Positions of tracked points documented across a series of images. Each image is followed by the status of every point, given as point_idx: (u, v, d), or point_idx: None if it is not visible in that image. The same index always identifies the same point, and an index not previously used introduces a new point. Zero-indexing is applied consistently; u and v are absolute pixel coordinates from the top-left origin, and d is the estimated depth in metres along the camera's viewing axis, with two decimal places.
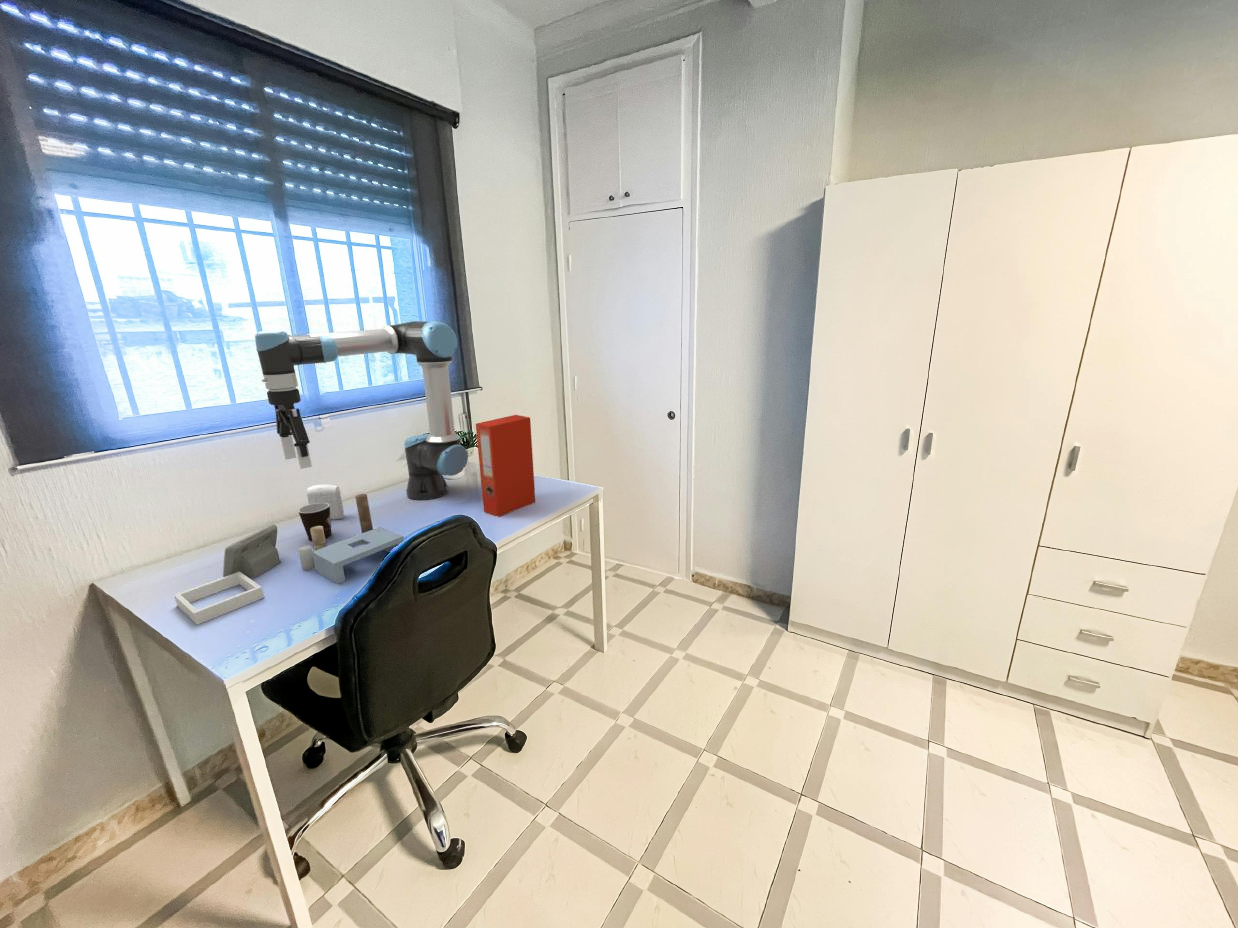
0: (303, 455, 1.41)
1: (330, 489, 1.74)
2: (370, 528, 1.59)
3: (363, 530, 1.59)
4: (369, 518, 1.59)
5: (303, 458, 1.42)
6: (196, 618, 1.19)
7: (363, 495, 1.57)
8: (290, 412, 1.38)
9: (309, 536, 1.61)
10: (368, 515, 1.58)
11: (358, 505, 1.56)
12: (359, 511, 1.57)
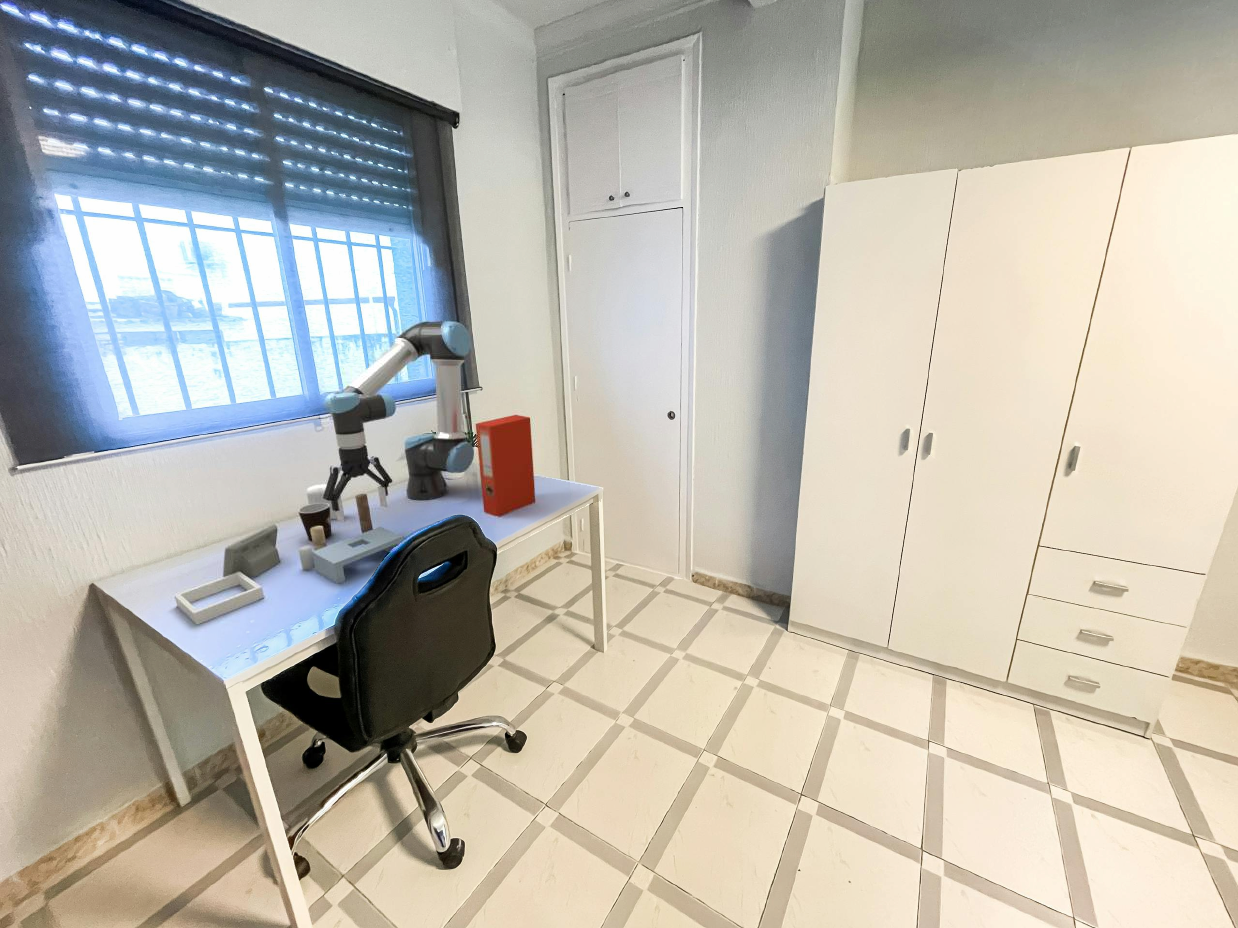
0: (333, 509, 1.51)
1: None
2: (370, 528, 1.59)
3: (363, 530, 1.59)
4: (369, 518, 1.59)
5: (337, 511, 1.52)
6: (196, 618, 1.19)
7: (363, 495, 1.57)
8: (330, 468, 1.49)
9: (309, 536, 1.61)
10: (368, 515, 1.58)
11: (358, 505, 1.56)
12: (359, 511, 1.57)
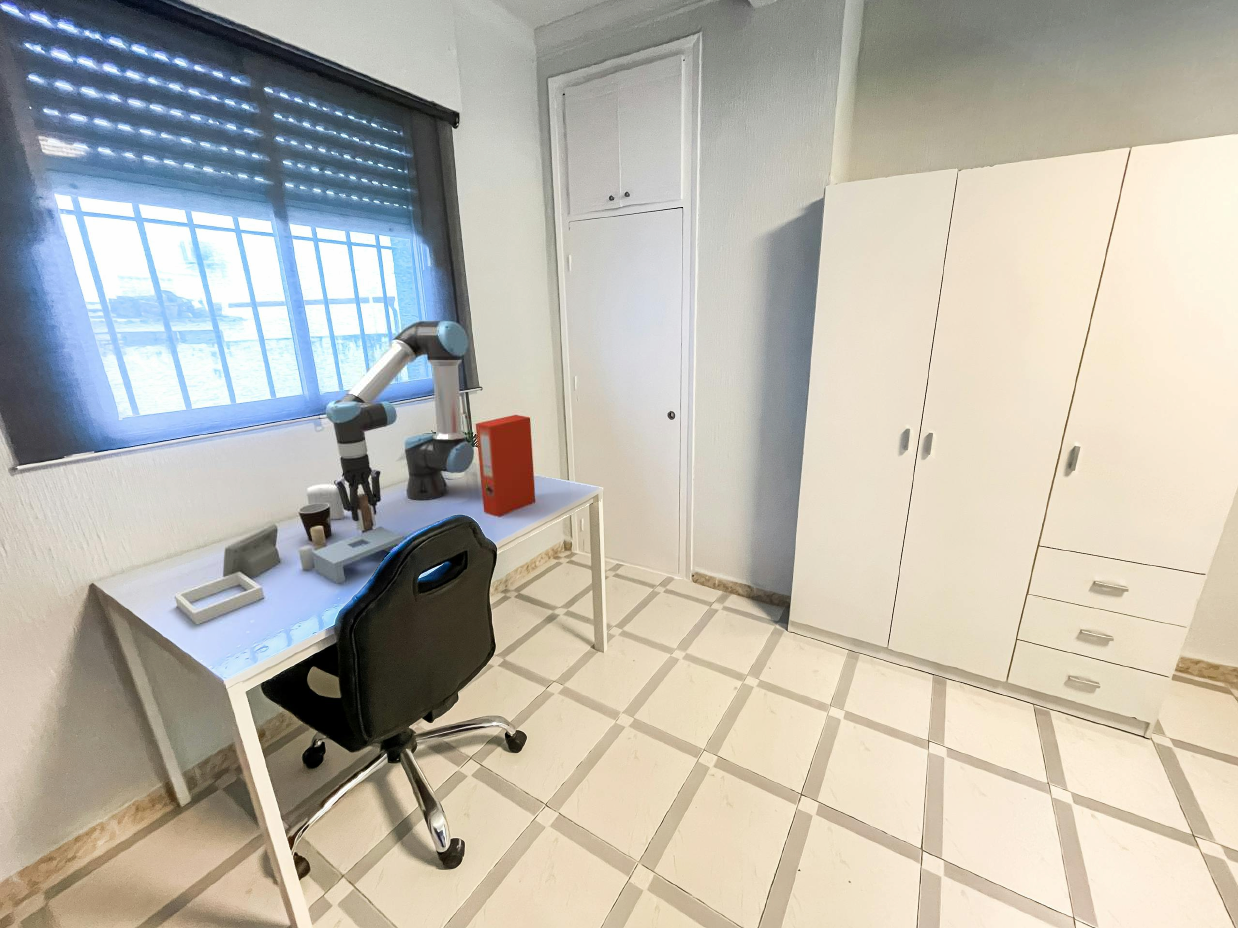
0: (353, 519, 1.56)
1: (330, 489, 1.74)
2: (370, 528, 1.59)
3: (363, 530, 1.59)
4: (369, 518, 1.59)
5: (357, 521, 1.57)
6: (196, 618, 1.19)
7: (363, 495, 1.57)
8: (335, 483, 1.51)
9: (309, 536, 1.61)
10: (368, 515, 1.58)
11: (358, 505, 1.56)
12: None
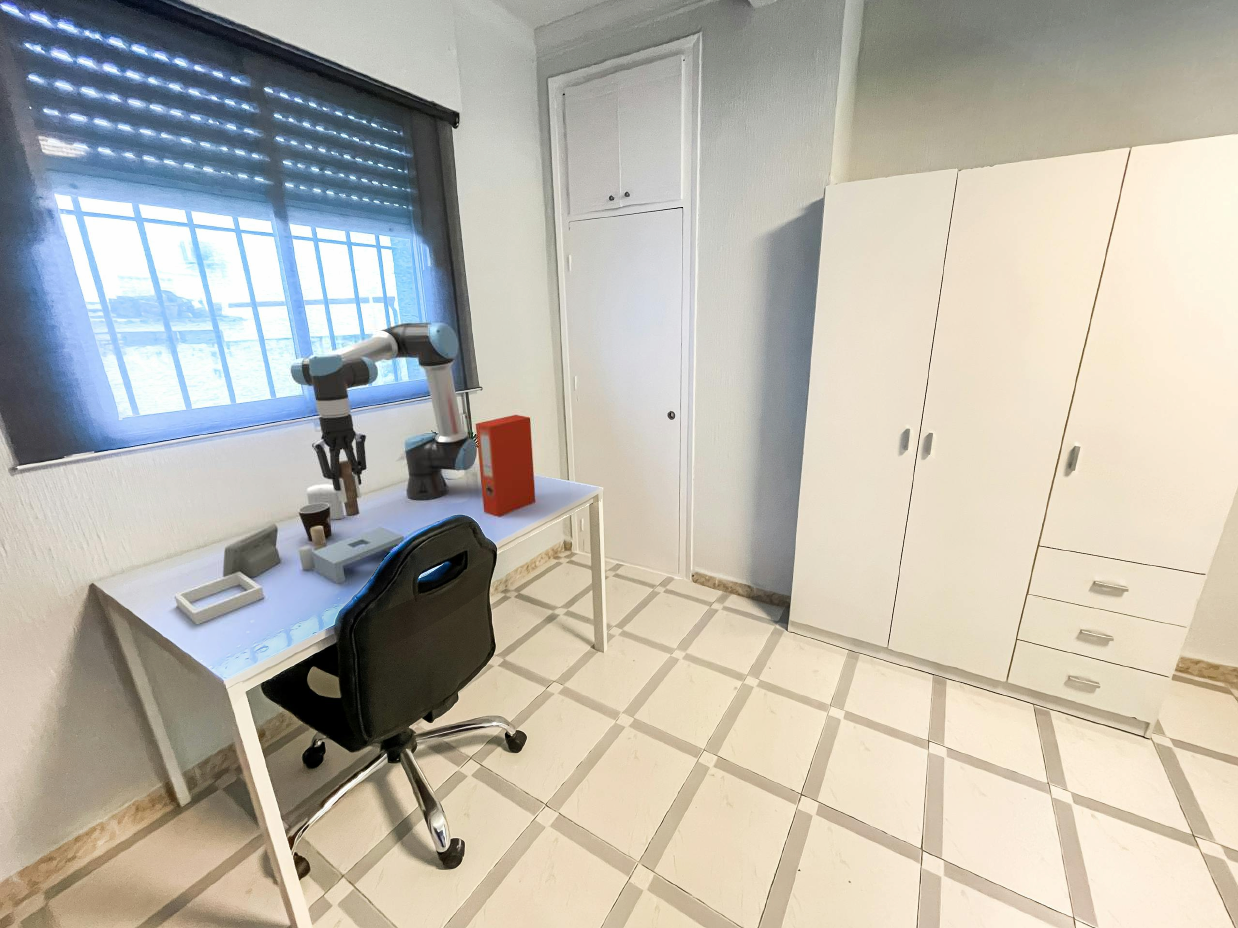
0: (334, 488, 1.38)
1: (330, 489, 1.74)
2: (354, 499, 1.41)
3: (346, 502, 1.40)
4: (353, 488, 1.40)
5: (339, 491, 1.39)
6: (196, 618, 1.19)
7: (346, 461, 1.38)
8: (313, 447, 1.32)
9: (309, 536, 1.61)
10: (351, 484, 1.40)
11: (340, 473, 1.38)
12: None
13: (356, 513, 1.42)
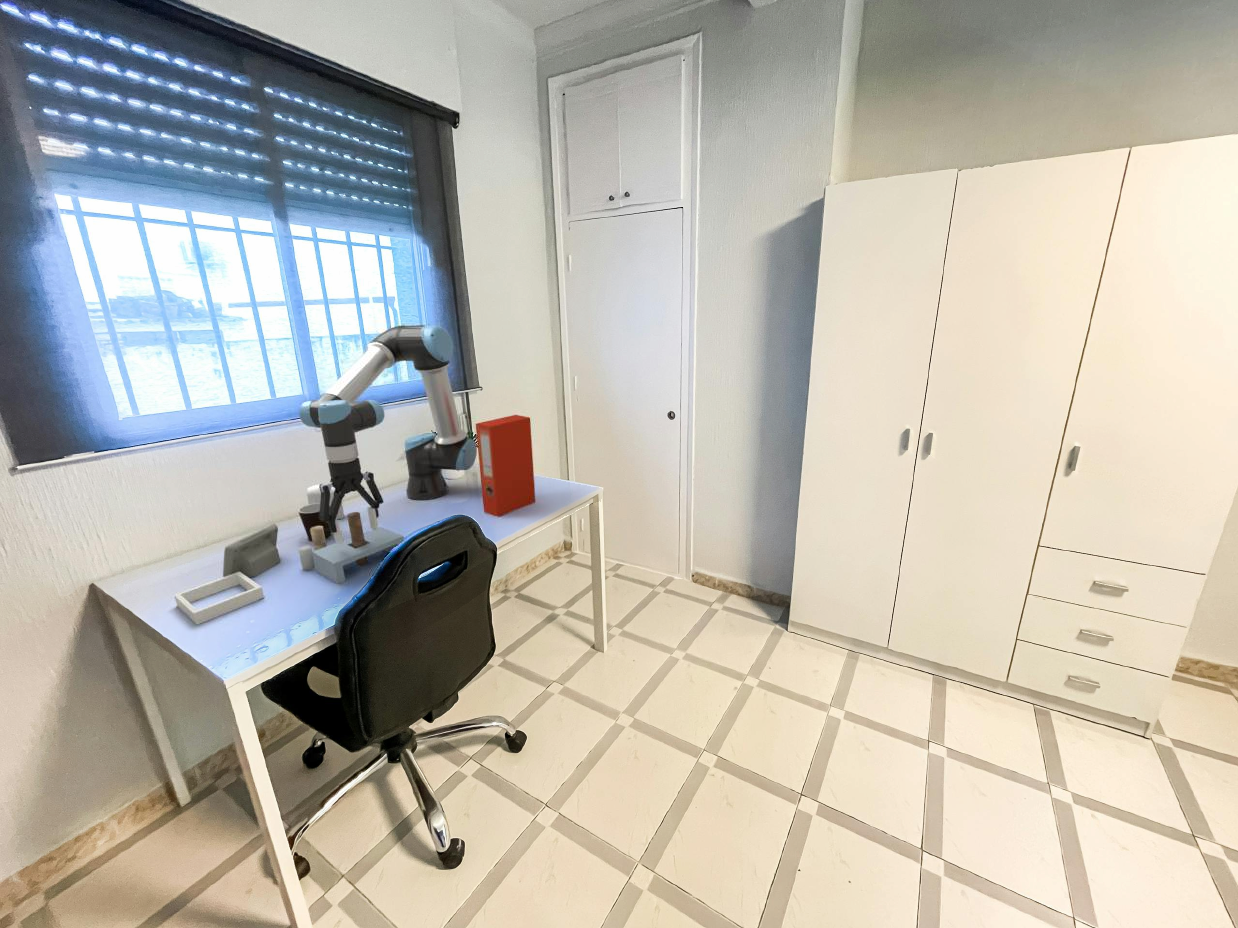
0: (330, 530, 1.39)
1: None
2: None
3: None
4: (362, 538, 1.45)
5: (335, 533, 1.40)
6: (196, 618, 1.19)
7: (356, 513, 1.43)
8: (320, 487, 1.35)
9: (309, 536, 1.61)
10: (361, 535, 1.44)
11: (350, 525, 1.42)
12: (351, 531, 1.43)
13: (365, 562, 1.46)
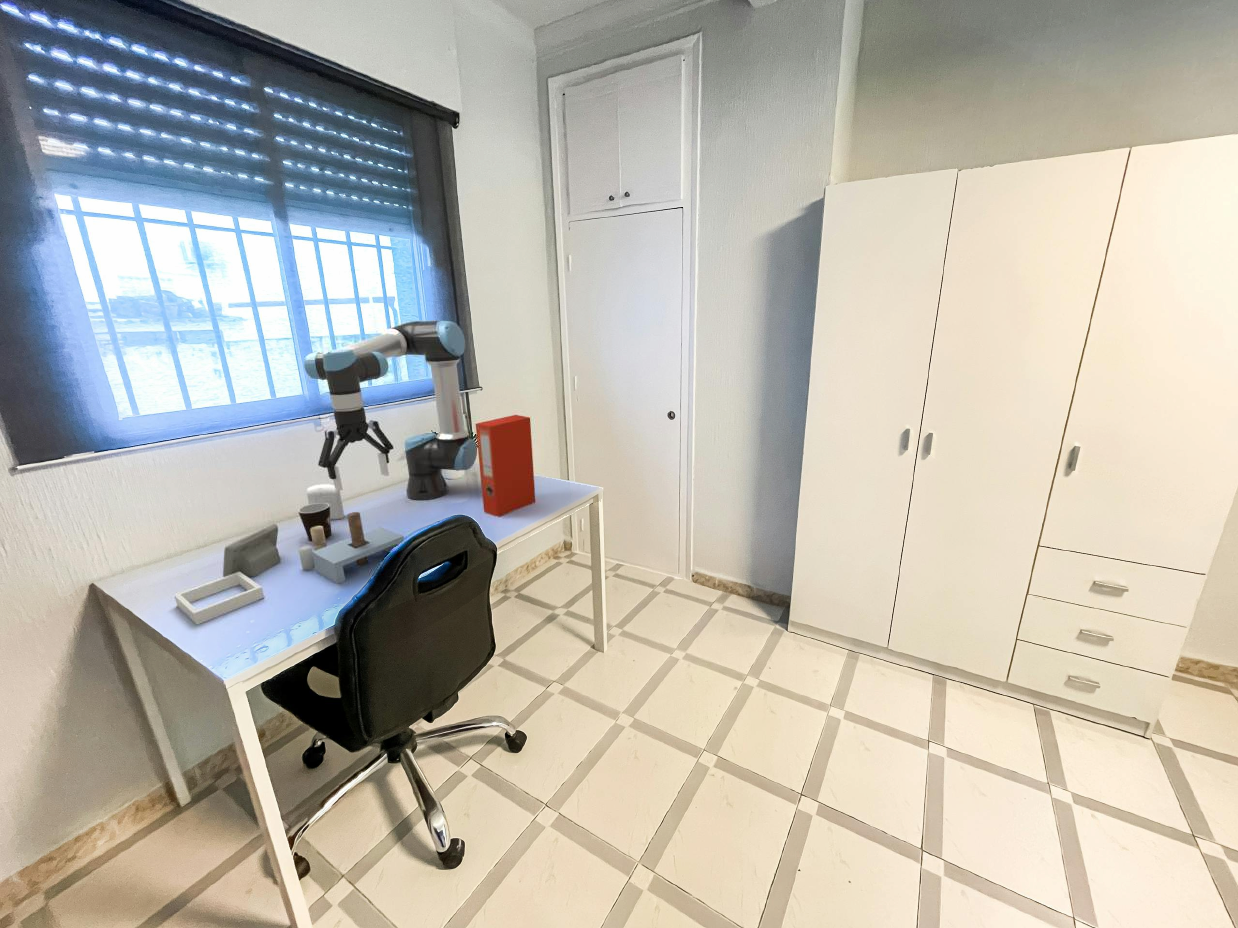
0: (329, 477, 1.39)
1: (330, 489, 1.74)
2: None
3: None
4: (362, 538, 1.45)
5: (335, 479, 1.40)
6: (196, 618, 1.19)
7: (356, 513, 1.43)
8: (325, 433, 1.36)
9: (309, 536, 1.61)
10: (361, 535, 1.44)
11: (350, 525, 1.42)
12: (351, 531, 1.43)
13: (365, 562, 1.46)
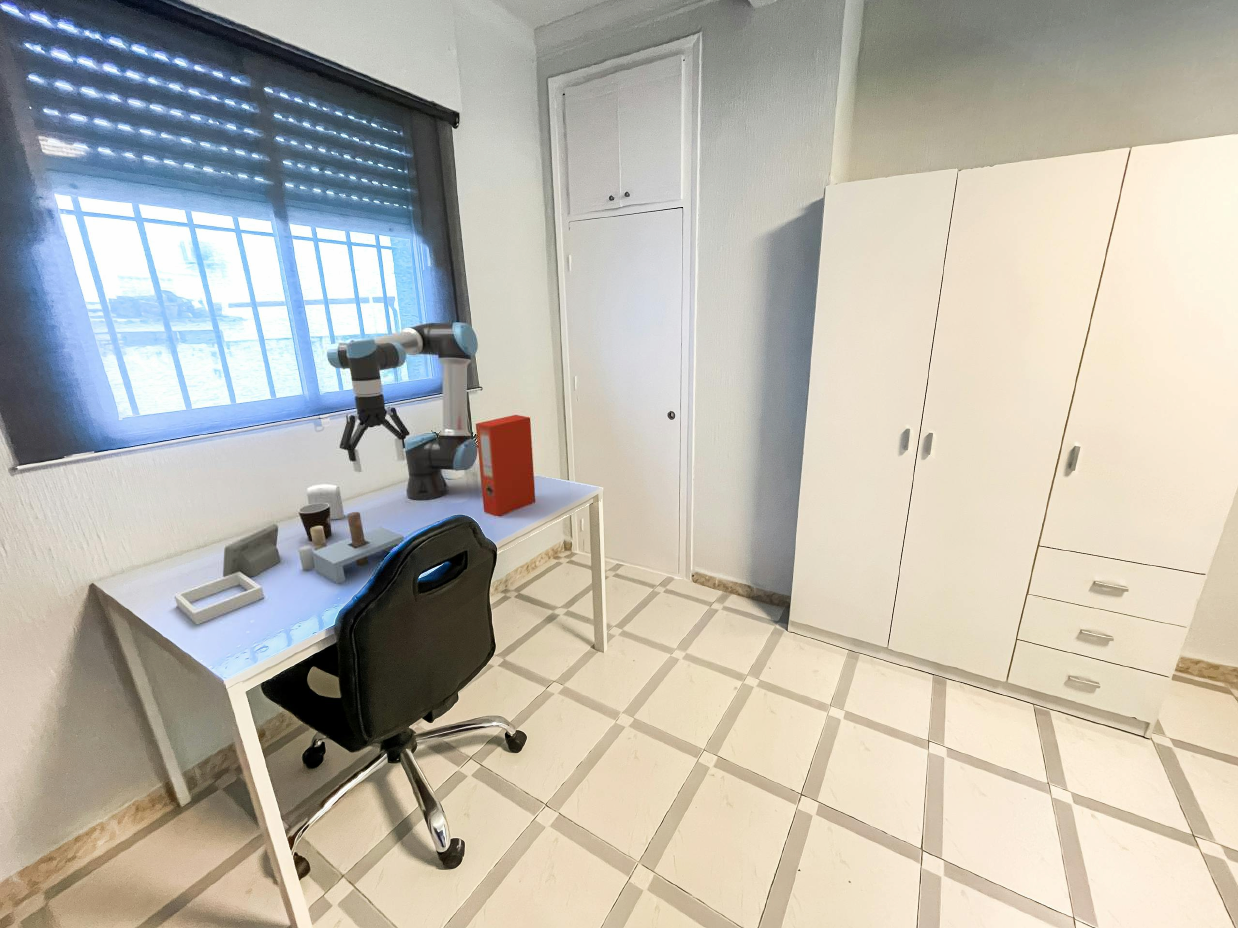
0: (349, 459, 1.46)
1: (330, 489, 1.74)
2: None
3: None
4: (362, 538, 1.45)
5: (354, 462, 1.47)
6: (196, 618, 1.19)
7: (356, 513, 1.43)
8: (346, 417, 1.44)
9: (309, 536, 1.61)
10: (361, 535, 1.44)
11: (350, 525, 1.42)
12: (351, 531, 1.43)
13: (365, 562, 1.46)
